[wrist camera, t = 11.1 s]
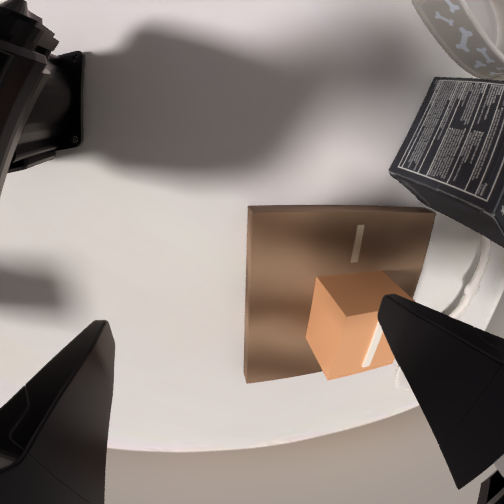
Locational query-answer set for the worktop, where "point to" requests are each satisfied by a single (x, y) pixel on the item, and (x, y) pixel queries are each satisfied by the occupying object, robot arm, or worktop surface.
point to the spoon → (469, 292)
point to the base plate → (317, 271)
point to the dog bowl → (468, 32)
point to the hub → (350, 322)
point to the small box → (458, 153)
